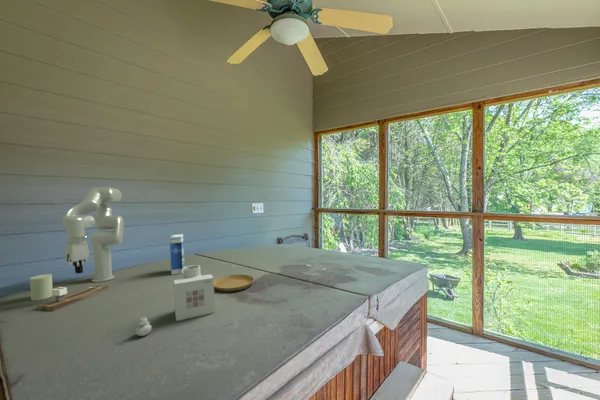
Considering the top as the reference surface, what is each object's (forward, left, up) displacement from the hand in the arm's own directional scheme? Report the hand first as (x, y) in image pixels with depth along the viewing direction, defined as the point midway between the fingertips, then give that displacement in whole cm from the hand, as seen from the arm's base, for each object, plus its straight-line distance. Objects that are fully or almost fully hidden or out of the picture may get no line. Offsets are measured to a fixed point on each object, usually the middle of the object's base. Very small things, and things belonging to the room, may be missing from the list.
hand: (79, 272), depth 152 cm
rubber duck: (+67, -30, -14) cm, 75 cm away
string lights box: (+24, +50, -14) cm, 57 cm away
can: (-22, -4, -14) cm, 26 cm away
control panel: (+73, -6, -14) cm, 75 cm away
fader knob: (0, -11, -11) cm, 15 cm away
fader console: (0, -3, -13) cm, 14 cm away
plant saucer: (+77, +28, -14) cm, 84 cm away
